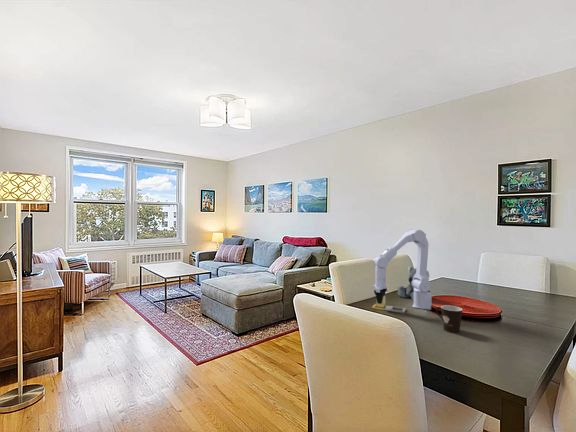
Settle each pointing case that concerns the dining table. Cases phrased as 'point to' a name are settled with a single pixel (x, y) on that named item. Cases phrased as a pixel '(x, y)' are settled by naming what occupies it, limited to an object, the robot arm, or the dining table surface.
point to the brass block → (382, 303)
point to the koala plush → (410, 289)
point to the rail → (390, 308)
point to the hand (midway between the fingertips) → (380, 302)
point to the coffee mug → (451, 318)
